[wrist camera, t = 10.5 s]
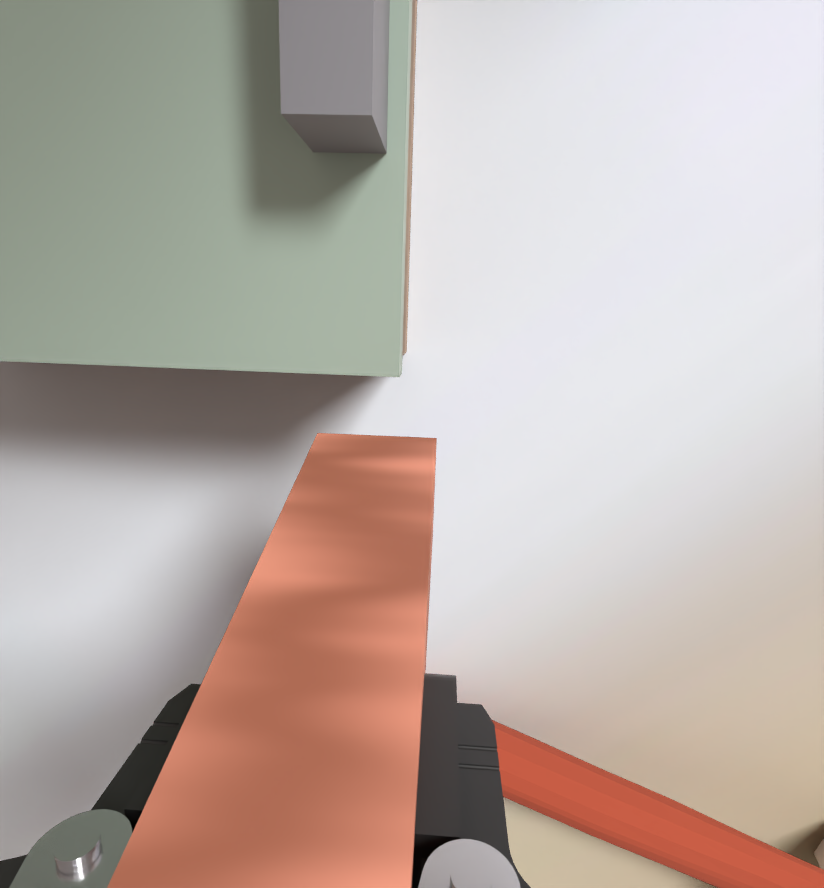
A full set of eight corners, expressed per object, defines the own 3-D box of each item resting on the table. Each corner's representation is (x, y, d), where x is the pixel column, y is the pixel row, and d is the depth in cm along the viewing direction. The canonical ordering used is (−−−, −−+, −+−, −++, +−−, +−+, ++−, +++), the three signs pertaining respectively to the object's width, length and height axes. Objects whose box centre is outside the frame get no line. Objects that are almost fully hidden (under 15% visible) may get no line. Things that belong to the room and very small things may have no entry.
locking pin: (436, 438, 16) (400, 1056, 5) (432, 533, 17) (399, 1147, 7) (317, 432, 16) (46, 1018, 5) (325, 528, 17) (129, 1118, 7)
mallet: (350, 806, 25) (1071, 1154, 21) (374, 744, 24) (1129, 1096, 20) (403, 670, 35) (893, 887, 31) (420, 624, 34) (926, 840, 30)
